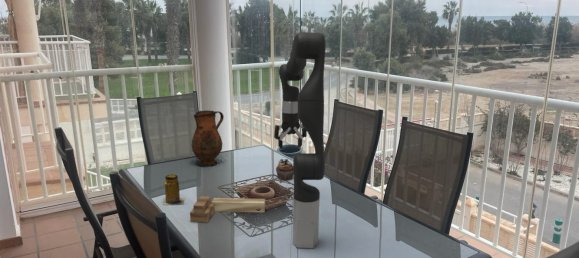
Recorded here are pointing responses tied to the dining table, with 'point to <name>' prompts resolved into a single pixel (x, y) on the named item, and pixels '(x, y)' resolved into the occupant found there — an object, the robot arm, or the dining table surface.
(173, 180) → the condiment
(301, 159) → the robot arm
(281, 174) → the cupcake
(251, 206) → the batten
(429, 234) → the dining table surface
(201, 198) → the stair steps
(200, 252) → the dining table surface
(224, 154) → the dining table surface
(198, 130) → the pitcher
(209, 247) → the dining table surface
